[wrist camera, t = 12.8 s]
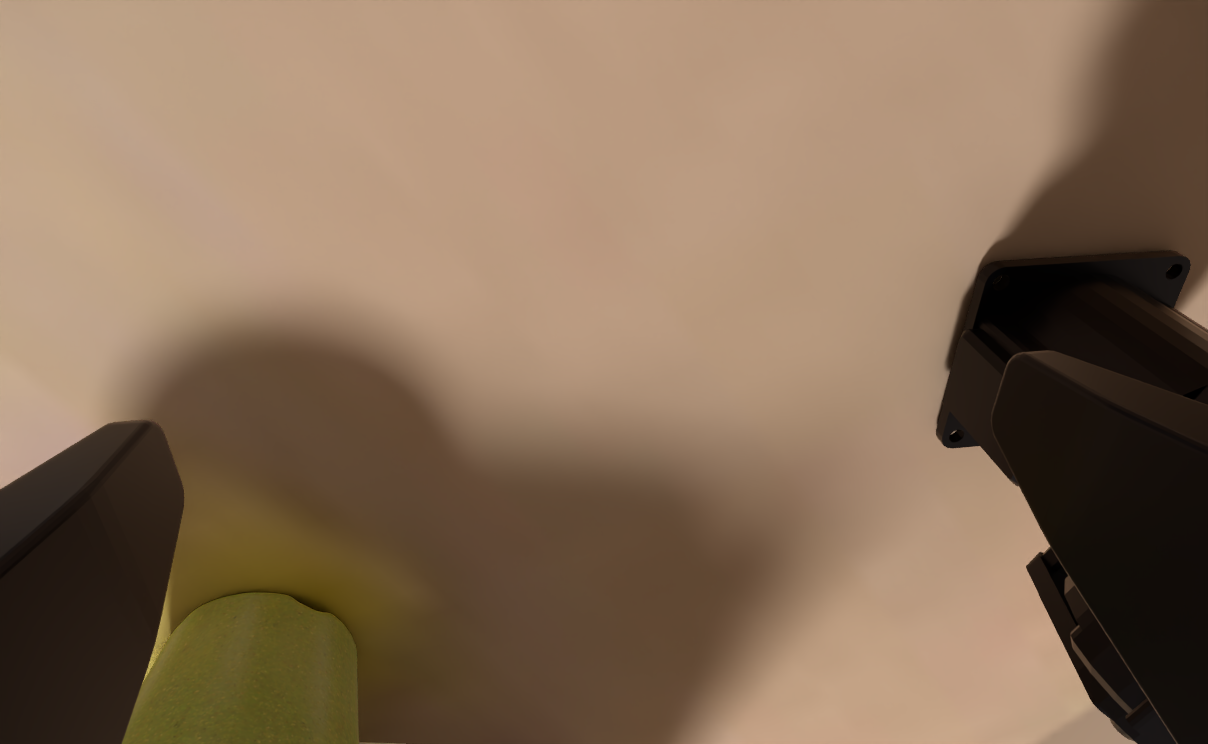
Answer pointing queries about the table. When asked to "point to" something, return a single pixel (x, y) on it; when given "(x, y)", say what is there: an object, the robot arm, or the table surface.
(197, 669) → the plant pot
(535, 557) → the table surface
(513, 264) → the table surface
